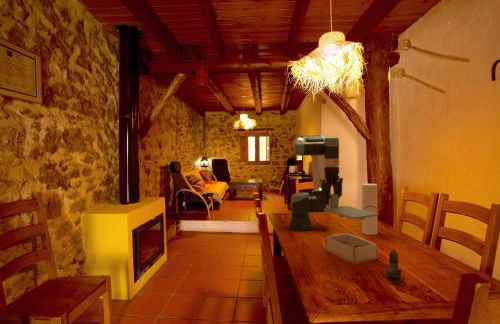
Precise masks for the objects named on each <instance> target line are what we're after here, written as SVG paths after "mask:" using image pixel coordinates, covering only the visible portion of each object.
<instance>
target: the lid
mask: <svg viewBox="0 0 500 324" xmlns="http://www.w3.org/2000/svg"><path fill="white" fill-rule="evenodd" d="M329 199H331V208H324V209H323V210H325V211H328V212H327V213H331V214H335V215H338V216H339V217H340V218H349V219H351V220H358V219H360V220H361V221H362V220H364V218H366V217H373V216H377V217H378V216H379V215H380V213H378V212H377V213H373V212H369V211H365V210H362V208H357V207H354V206H349V205H342V206H339V203H338V194H334V192H330V197H329Z"/></svg>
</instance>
